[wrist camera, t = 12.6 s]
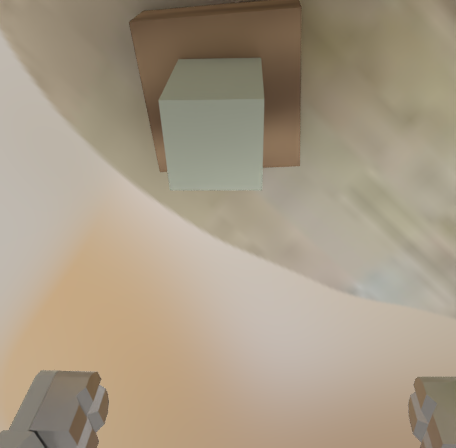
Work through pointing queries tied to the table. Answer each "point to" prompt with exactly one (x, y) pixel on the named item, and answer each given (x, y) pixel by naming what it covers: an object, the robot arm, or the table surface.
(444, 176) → the table surface
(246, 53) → the walnut block
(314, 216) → the table surface
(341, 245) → the table surface
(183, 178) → the sage block
